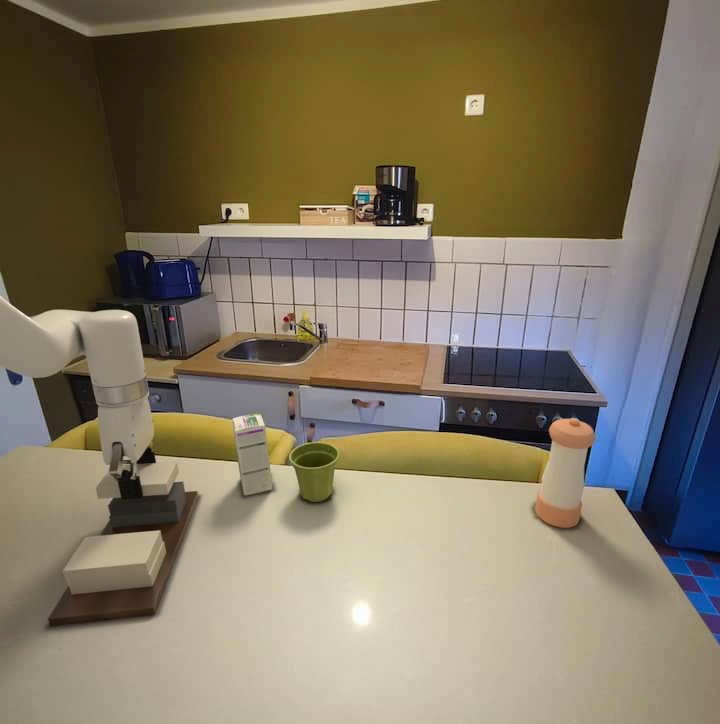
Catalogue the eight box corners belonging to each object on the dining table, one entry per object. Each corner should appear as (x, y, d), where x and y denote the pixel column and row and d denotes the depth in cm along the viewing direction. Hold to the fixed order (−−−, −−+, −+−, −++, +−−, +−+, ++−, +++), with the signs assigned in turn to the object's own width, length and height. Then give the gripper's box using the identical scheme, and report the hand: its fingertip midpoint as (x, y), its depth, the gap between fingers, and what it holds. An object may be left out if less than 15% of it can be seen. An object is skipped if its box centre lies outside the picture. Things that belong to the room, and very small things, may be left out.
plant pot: (287, 484, 86) (284, 446, 83) (332, 474, 89) (330, 438, 86) (298, 513, 78) (295, 472, 75) (346, 501, 81) (345, 462, 78)
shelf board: (49, 625, 57) (47, 619, 57) (125, 501, 81) (124, 496, 81) (155, 614, 59) (153, 607, 58) (198, 495, 83) (197, 490, 83)
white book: (98, 499, 70) (95, 487, 69) (114, 475, 76) (112, 465, 76) (168, 494, 71) (166, 483, 71) (179, 472, 78) (177, 461, 77)
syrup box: (273, 489, 85) (267, 424, 79) (242, 497, 83) (234, 430, 77) (268, 474, 90) (261, 411, 84) (239, 480, 88) (231, 417, 82)
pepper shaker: (584, 530, 73) (606, 431, 67) (540, 525, 74) (557, 428, 68) (571, 502, 80) (590, 410, 73) (531, 499, 81) (545, 408, 74)
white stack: (70, 594, 60) (62, 571, 59) (91, 559, 67) (85, 536, 65) (152, 586, 62) (147, 562, 60) (166, 552, 68) (161, 530, 66)
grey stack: (111, 527, 73) (105, 505, 71) (124, 507, 78) (118, 486, 76) (179, 522, 74) (174, 500, 73) (187, 502, 79) (183, 481, 78)
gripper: (118, 370, 75) (136, 458, 81) (68, 414, 59) (94, 520, 65) (163, 369, 76) (177, 456, 82) (125, 412, 60) (146, 516, 66)
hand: (140, 483), depth 74 cm, fingers closed on white book, 6 cm apart
